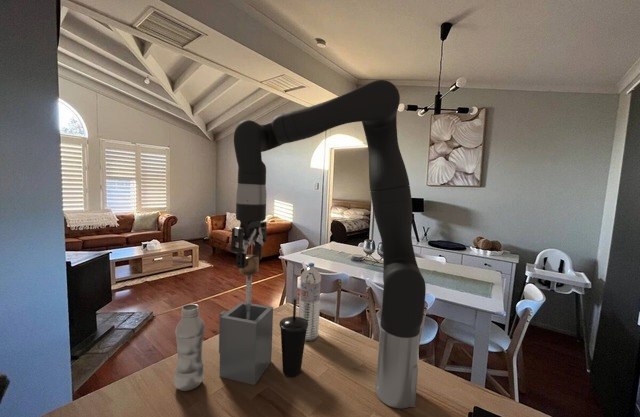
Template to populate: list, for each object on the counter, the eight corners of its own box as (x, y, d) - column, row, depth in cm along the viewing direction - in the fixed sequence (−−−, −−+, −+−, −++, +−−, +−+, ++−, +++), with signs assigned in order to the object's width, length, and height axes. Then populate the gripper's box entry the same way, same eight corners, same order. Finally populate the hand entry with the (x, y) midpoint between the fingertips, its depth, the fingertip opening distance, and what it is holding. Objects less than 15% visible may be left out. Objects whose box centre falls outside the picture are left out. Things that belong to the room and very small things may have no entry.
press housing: (271, 361, 80) (273, 307, 78) (254, 385, 70) (256, 324, 69) (230, 352, 83) (232, 300, 82) (209, 374, 74) (210, 315, 72)
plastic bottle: (175, 379, 71) (176, 303, 69) (204, 374, 73) (205, 300, 72) (172, 397, 65) (172, 314, 63) (203, 391, 67) (204, 311, 66)
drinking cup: (301, 383, 72) (305, 308, 70) (273, 377, 73) (276, 303, 71) (308, 364, 79) (312, 296, 77) (283, 360, 81) (285, 292, 79)
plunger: (264, 327, 78) (267, 255, 76) (252, 340, 71) (255, 261, 69) (242, 323, 80) (244, 252, 78) (229, 335, 73) (230, 258, 71)
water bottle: (295, 332, 96) (298, 260, 94) (314, 330, 98) (318, 260, 96) (300, 343, 90) (303, 266, 87) (320, 340, 92) (324, 266, 89)
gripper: (251, 204, 64) (249, 273, 66) (276, 201, 78) (274, 258, 80) (222, 202, 66) (221, 269, 68) (251, 199, 80) (250, 255, 82)
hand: (249, 263), depth 74 cm, fingers open, 8 cm apart
